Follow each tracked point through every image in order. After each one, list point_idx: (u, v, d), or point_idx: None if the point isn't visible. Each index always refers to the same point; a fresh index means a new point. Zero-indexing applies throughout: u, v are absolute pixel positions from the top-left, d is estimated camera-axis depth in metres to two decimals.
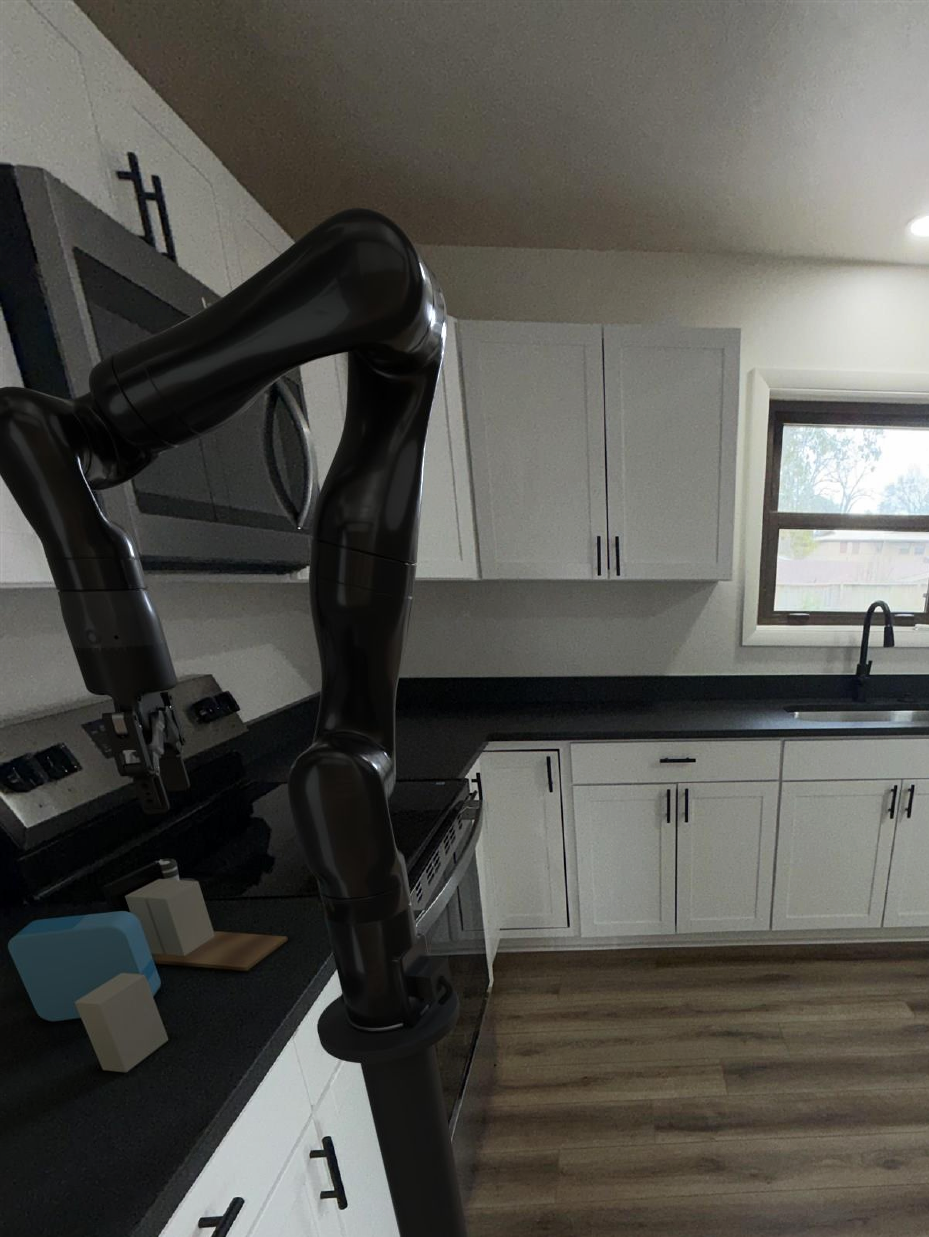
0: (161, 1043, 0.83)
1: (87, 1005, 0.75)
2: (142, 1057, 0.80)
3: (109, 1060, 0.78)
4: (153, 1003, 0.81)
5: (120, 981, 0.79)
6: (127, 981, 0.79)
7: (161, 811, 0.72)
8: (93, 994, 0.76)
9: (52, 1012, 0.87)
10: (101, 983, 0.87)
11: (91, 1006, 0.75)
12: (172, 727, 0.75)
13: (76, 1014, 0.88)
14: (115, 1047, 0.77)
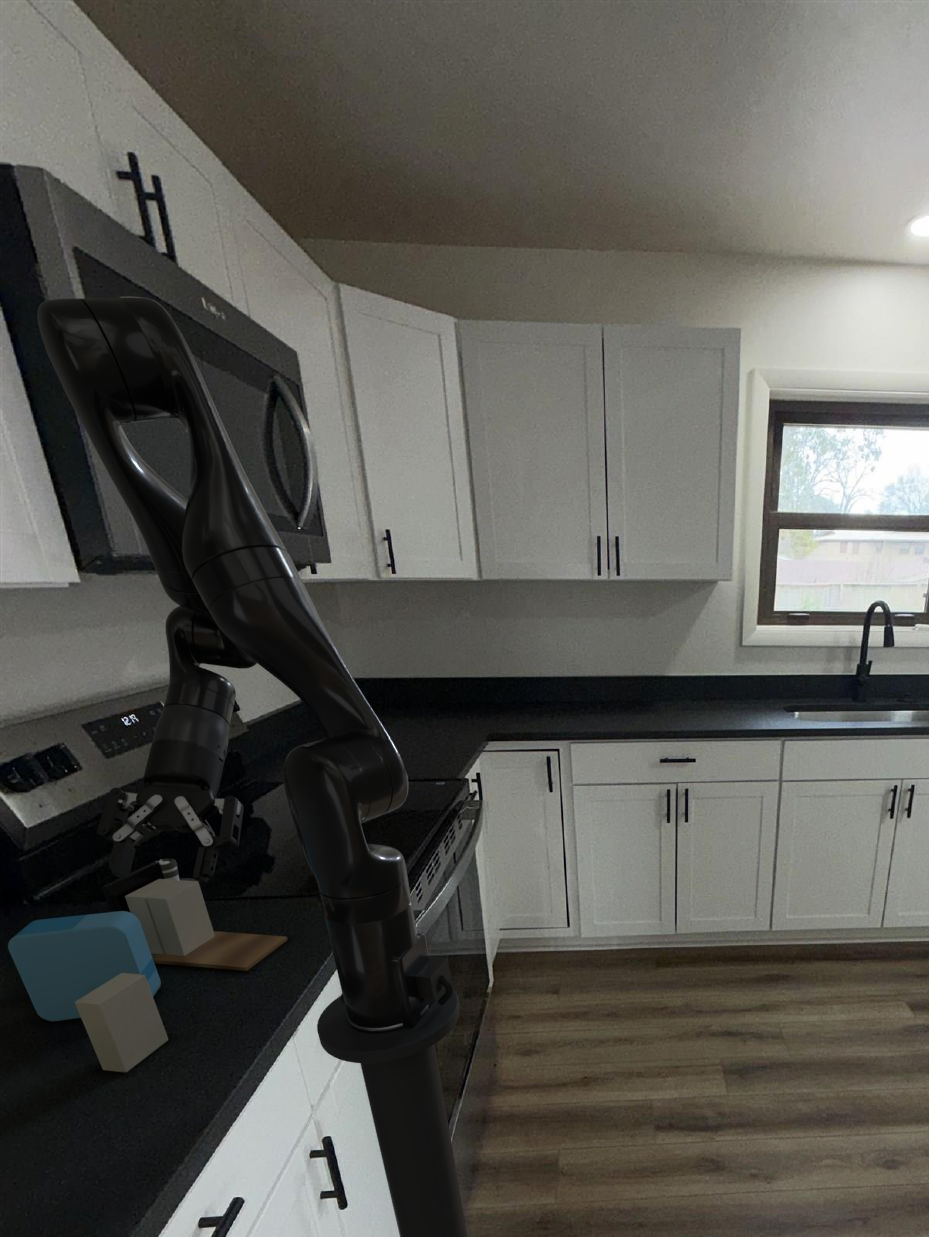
0: (161, 1043, 0.83)
1: (87, 1005, 0.75)
2: (142, 1057, 0.80)
3: (109, 1060, 0.78)
4: (153, 1003, 0.81)
5: (120, 981, 0.79)
6: (127, 981, 0.79)
7: (114, 873, 0.81)
8: (93, 994, 0.76)
9: (52, 1012, 0.87)
10: (101, 983, 0.87)
11: (91, 1006, 0.75)
12: (185, 815, 0.83)
13: (76, 1014, 0.88)
14: (115, 1047, 0.77)
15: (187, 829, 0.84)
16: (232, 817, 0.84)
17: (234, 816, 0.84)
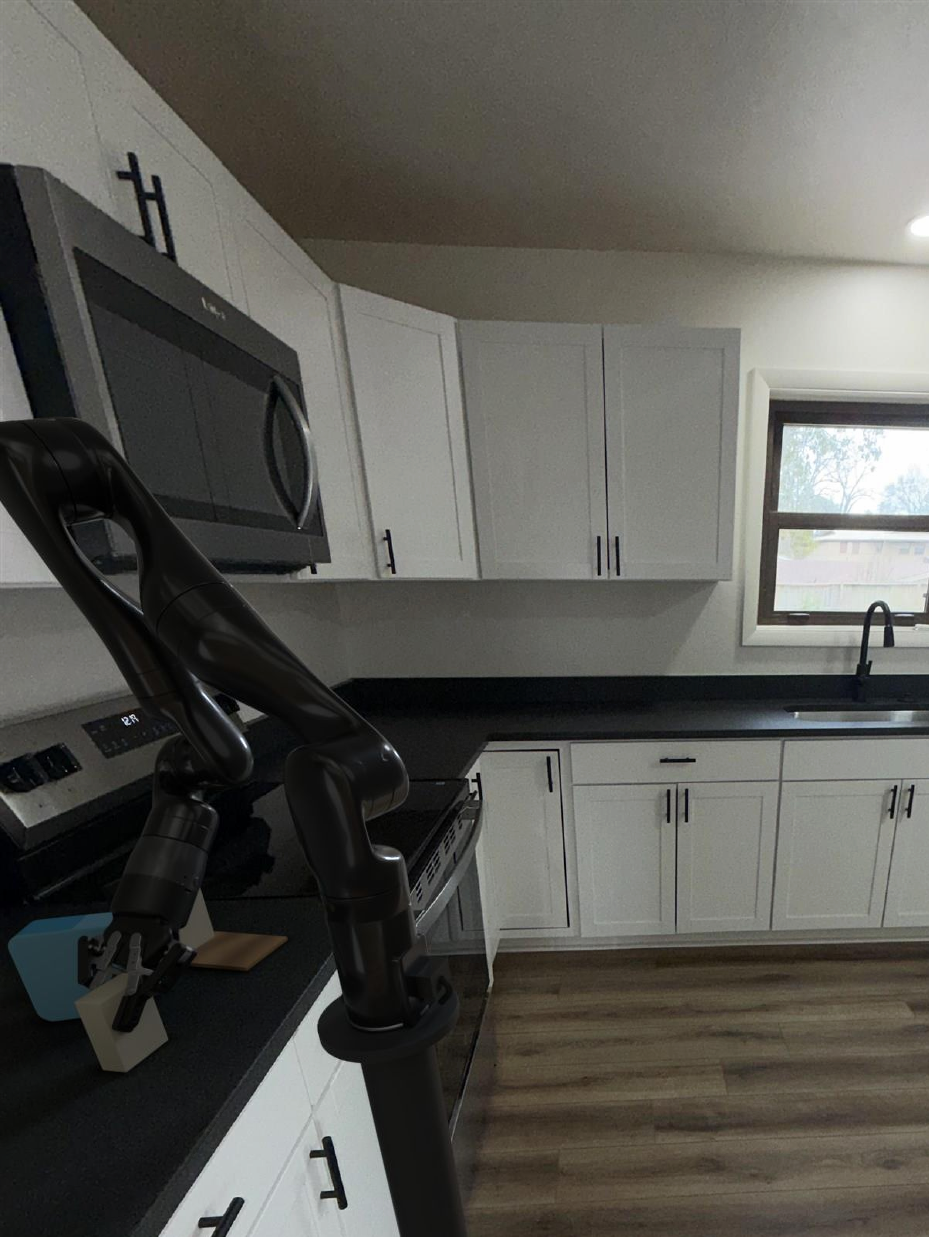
0: (161, 1043, 0.83)
1: (87, 1005, 0.75)
2: (142, 1057, 0.80)
3: (109, 1060, 0.78)
4: (153, 1003, 0.81)
5: (120, 981, 0.79)
6: (127, 981, 0.79)
7: None
8: (93, 994, 0.76)
9: (52, 1012, 0.87)
10: None
11: (91, 1007, 0.75)
12: (131, 954, 0.79)
13: (76, 1014, 0.88)
14: (114, 1047, 0.77)
15: (144, 966, 0.80)
16: (166, 967, 0.78)
17: (170, 966, 0.78)
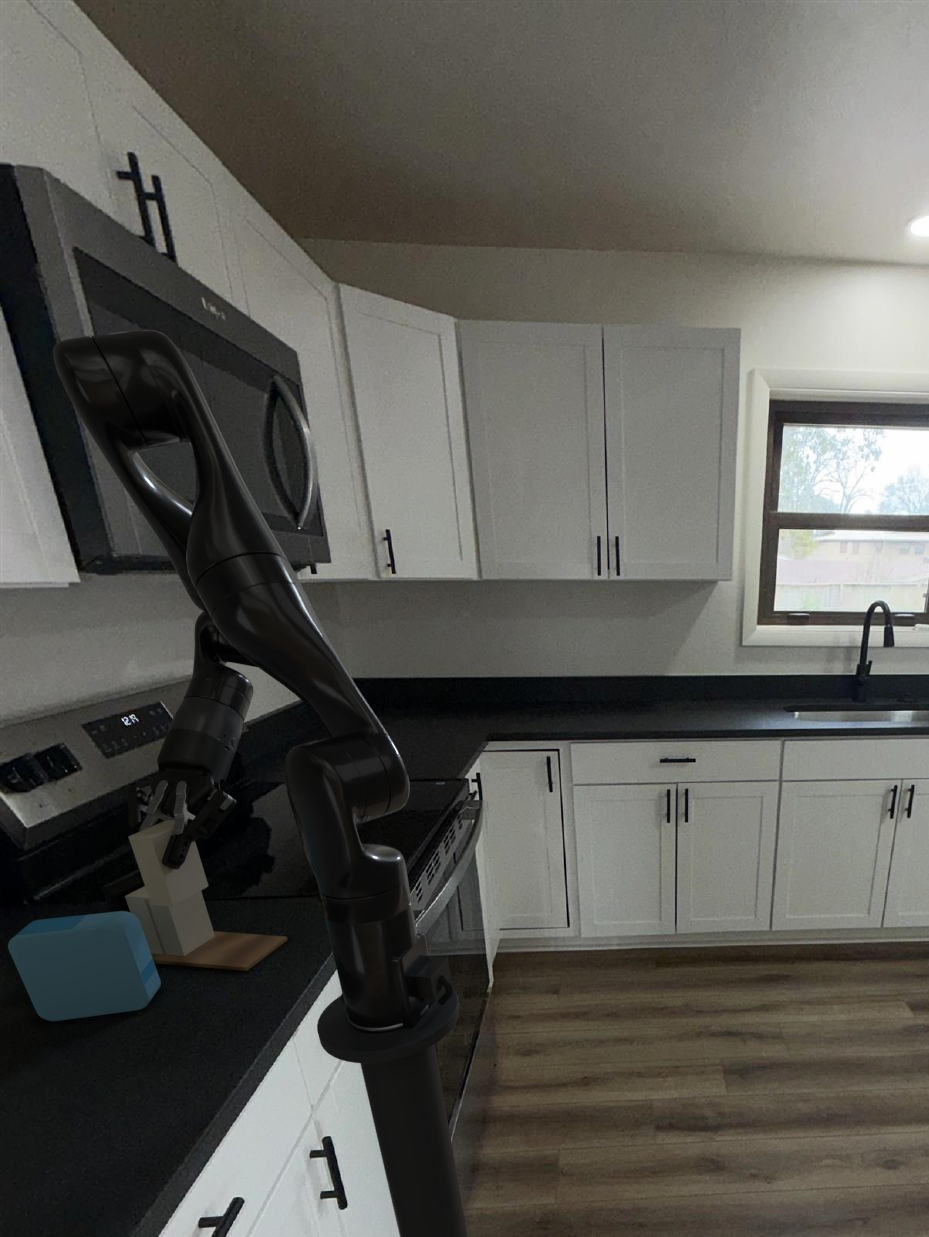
0: (202, 887, 0.91)
1: (140, 839, 0.83)
2: (186, 896, 0.89)
3: (157, 895, 0.86)
4: (196, 849, 0.90)
5: (167, 824, 0.87)
6: (173, 824, 0.87)
7: None
8: (144, 832, 0.85)
9: (52, 1012, 0.87)
10: (101, 983, 0.87)
11: (144, 840, 0.83)
12: (177, 799, 0.87)
13: (76, 1014, 0.88)
14: (163, 881, 0.85)
15: (189, 813, 0.88)
16: (210, 811, 0.86)
17: (213, 810, 0.87)
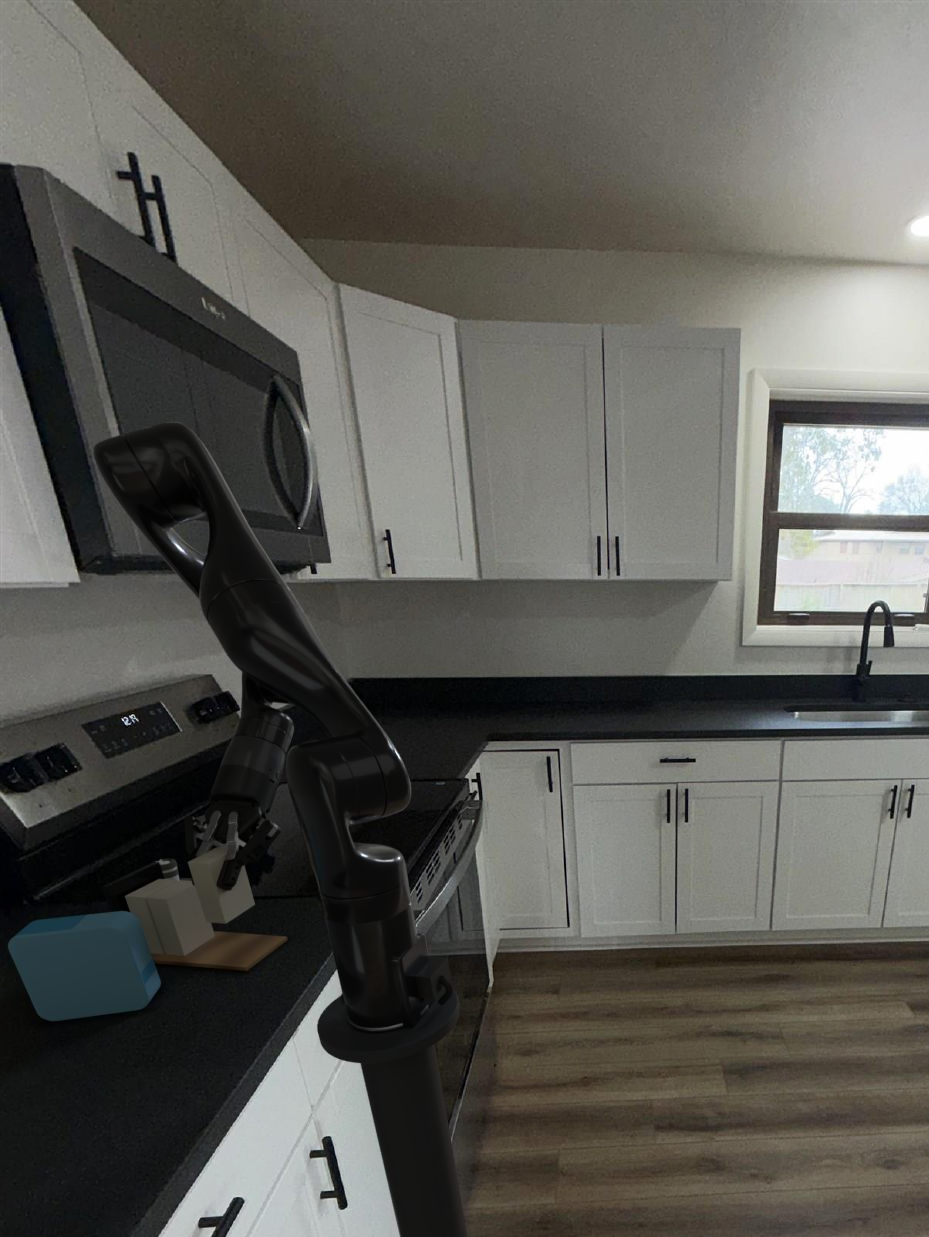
0: (250, 906, 1.02)
1: (198, 864, 0.94)
2: (236, 914, 0.99)
3: (212, 913, 0.97)
4: (244, 871, 1.00)
5: (220, 850, 0.97)
6: (226, 850, 0.97)
7: (194, 884, 0.96)
8: (201, 857, 0.95)
9: (52, 1012, 0.87)
10: (101, 983, 0.87)
11: (201, 865, 0.94)
12: (229, 828, 0.97)
13: (76, 1014, 0.88)
14: (218, 901, 0.96)
15: None
16: (258, 838, 0.97)
17: (261, 838, 0.97)
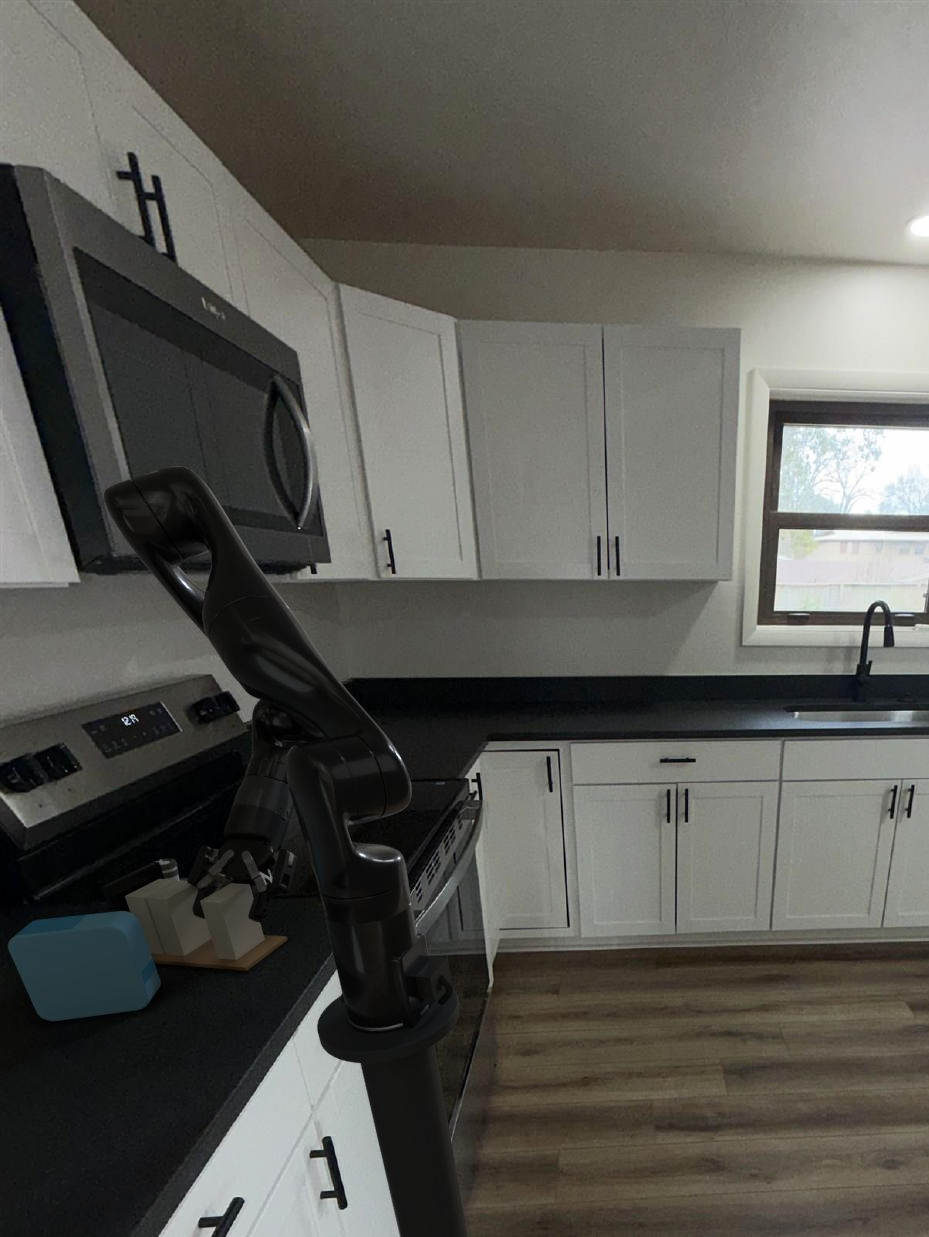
0: (260, 941, 1.04)
1: (210, 903, 0.96)
2: (247, 950, 1.01)
3: (223, 950, 0.99)
4: None
5: (231, 888, 1.00)
6: (237, 888, 1.00)
7: (195, 914, 0.99)
8: (213, 896, 0.98)
9: (52, 1012, 0.87)
10: (101, 983, 0.87)
11: (213, 904, 0.96)
12: (248, 866, 0.99)
13: (76, 1014, 0.88)
14: (229, 939, 0.98)
15: (251, 878, 1.01)
16: (282, 867, 0.99)
17: (285, 866, 1.00)
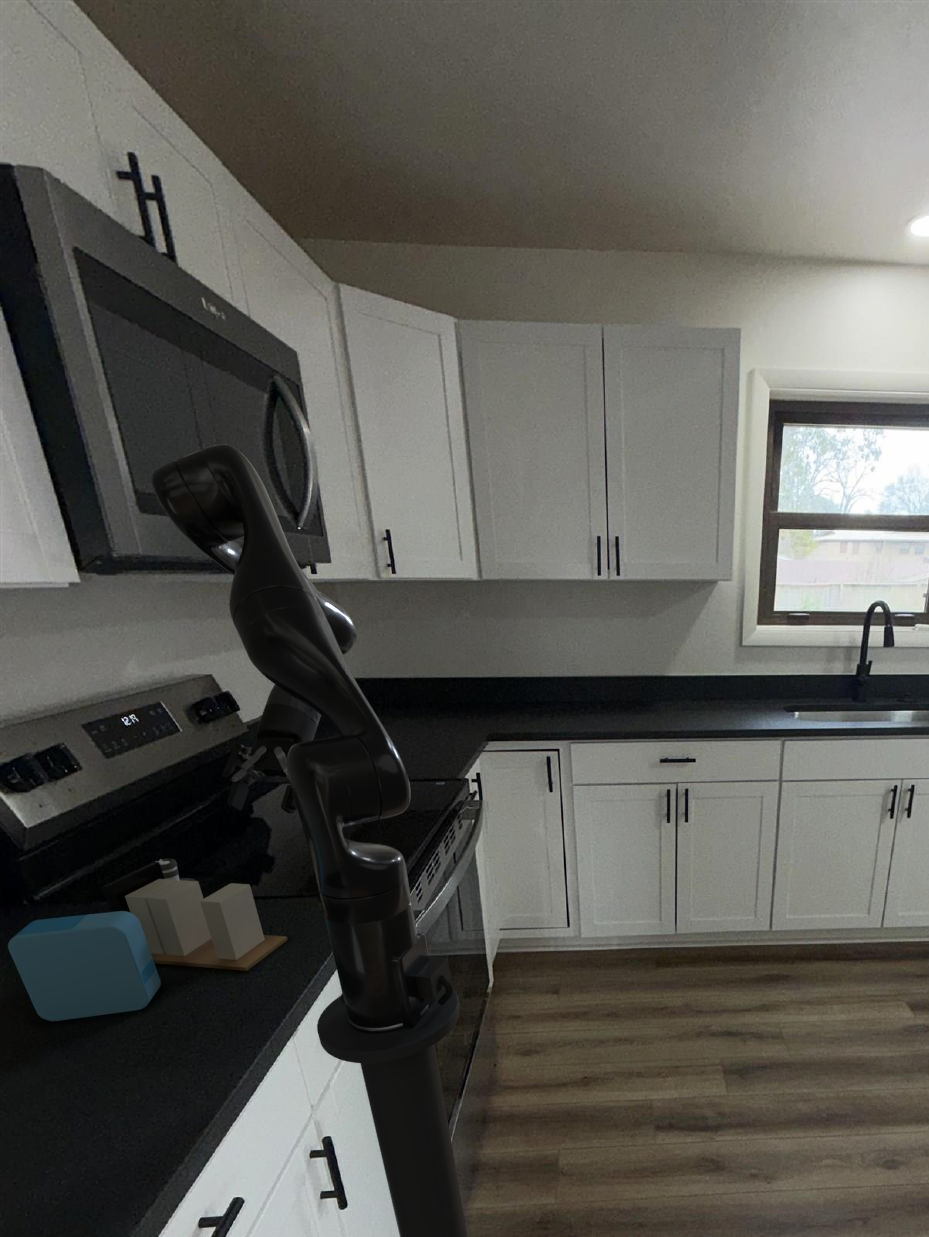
0: (260, 941, 1.04)
1: (210, 903, 0.96)
2: (247, 950, 1.01)
3: (223, 950, 0.99)
4: (255, 908, 1.03)
5: (231, 888, 1.00)
6: (237, 888, 1.00)
7: (230, 806, 1.05)
8: (213, 896, 0.98)
9: (52, 1012, 0.87)
10: (101, 983, 0.87)
11: (213, 904, 0.96)
12: (280, 761, 1.05)
13: (76, 1014, 0.88)
14: (229, 939, 0.98)
15: (283, 773, 1.06)
16: None
17: None
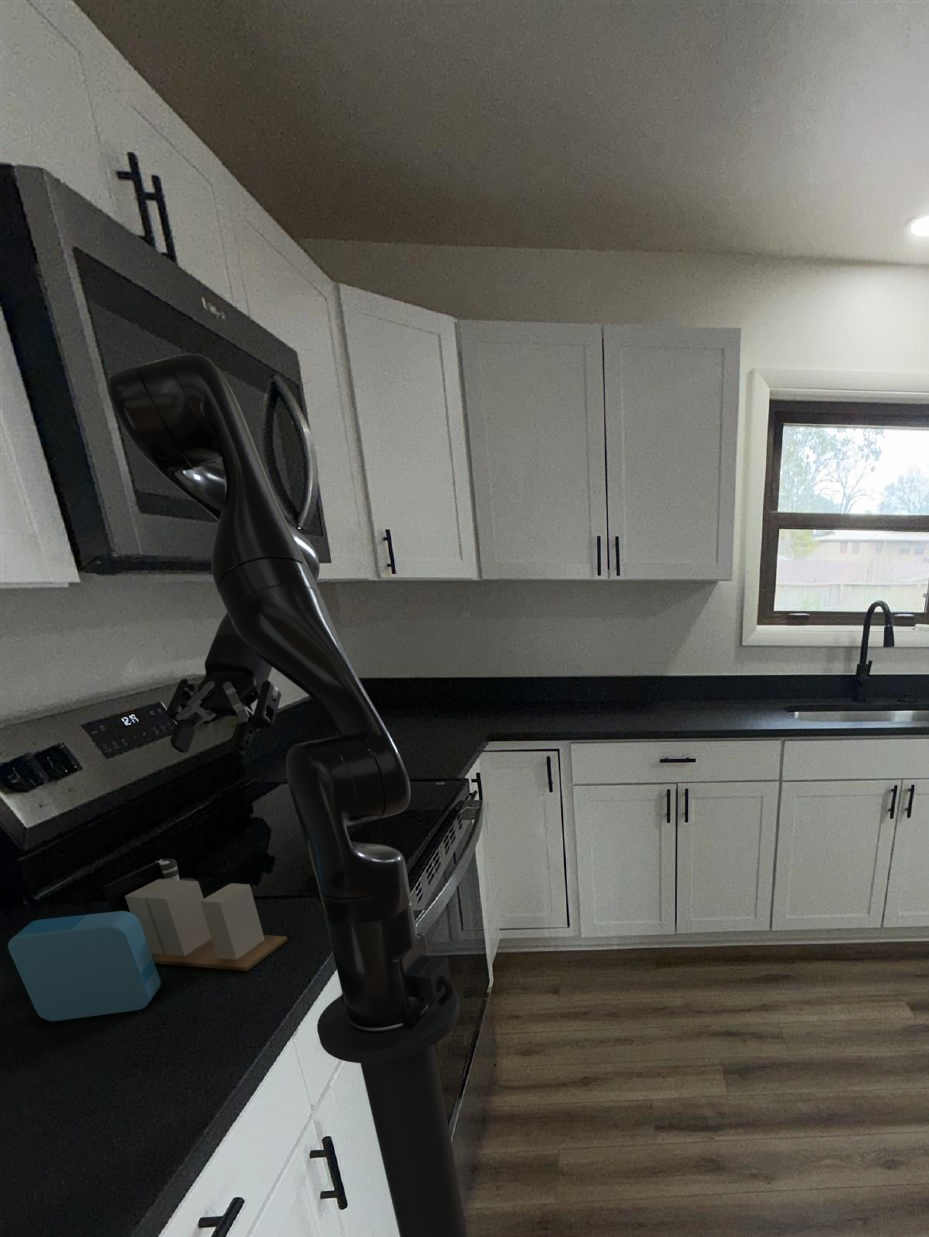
0: (260, 941, 1.04)
1: (210, 903, 0.96)
2: (247, 950, 1.01)
3: (223, 950, 0.99)
4: (255, 908, 1.03)
5: (231, 888, 1.00)
6: (237, 888, 1.00)
7: (174, 746, 0.94)
8: (213, 896, 0.98)
9: (52, 1012, 0.87)
10: (101, 983, 0.87)
11: (213, 904, 0.96)
12: (229, 697, 0.95)
13: (76, 1014, 0.88)
14: (229, 939, 0.98)
15: (233, 711, 0.96)
16: (266, 698, 0.94)
17: (268, 698, 0.95)
